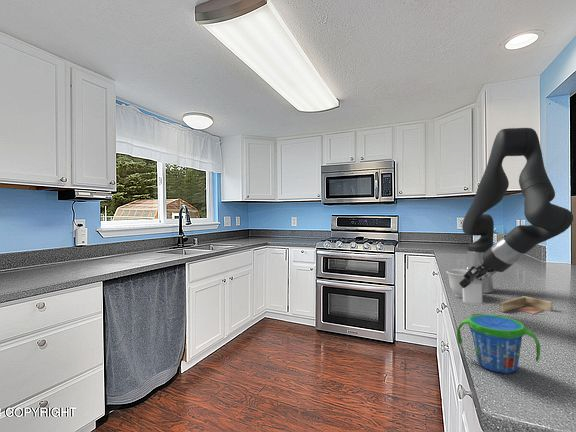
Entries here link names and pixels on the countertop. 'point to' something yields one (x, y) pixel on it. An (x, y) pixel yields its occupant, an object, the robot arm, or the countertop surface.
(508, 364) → the snack cup
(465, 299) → the eye dropper bottle
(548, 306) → the tan l-shaped piece
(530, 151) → the robot arm
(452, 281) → the teacup
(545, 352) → the countertop surface
